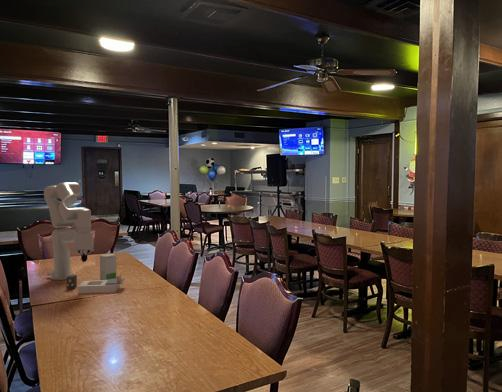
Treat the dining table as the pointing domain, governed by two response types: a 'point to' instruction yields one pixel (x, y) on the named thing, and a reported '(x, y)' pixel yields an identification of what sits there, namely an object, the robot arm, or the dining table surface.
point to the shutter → (116, 280)
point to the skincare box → (108, 267)
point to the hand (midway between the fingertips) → (84, 261)
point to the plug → (71, 281)
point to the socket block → (97, 287)
